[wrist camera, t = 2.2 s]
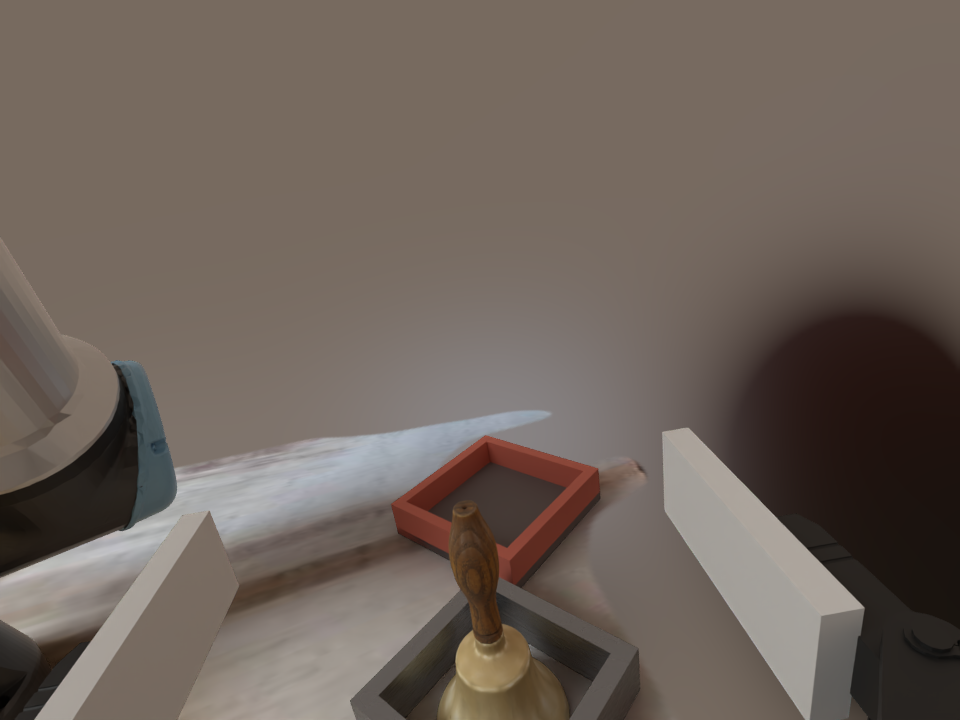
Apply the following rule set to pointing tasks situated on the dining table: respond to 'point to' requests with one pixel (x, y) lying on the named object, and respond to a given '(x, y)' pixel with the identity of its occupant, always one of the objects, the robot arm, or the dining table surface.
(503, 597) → the grey square open box
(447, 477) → the tray
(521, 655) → the hand bell
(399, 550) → the dining table surface
